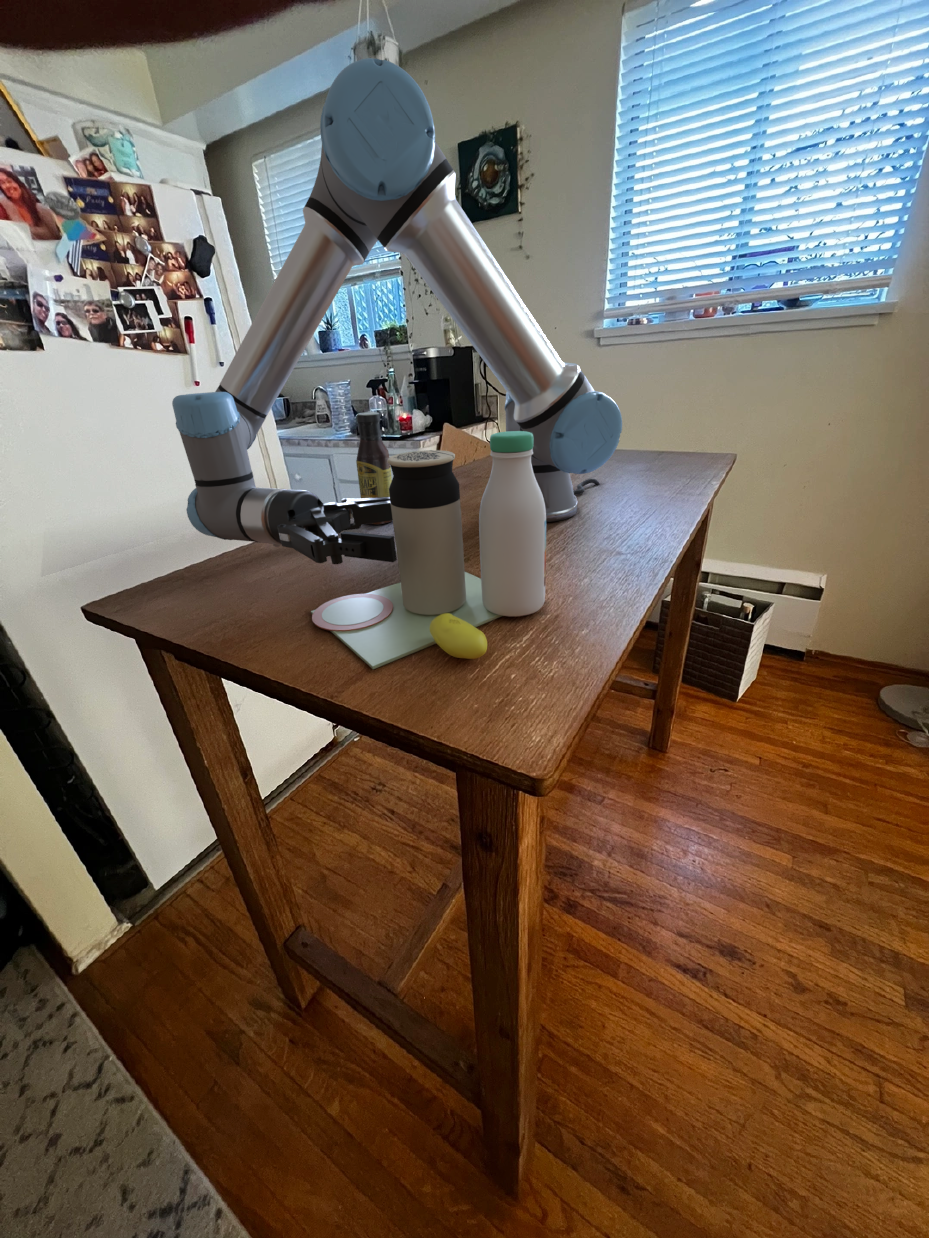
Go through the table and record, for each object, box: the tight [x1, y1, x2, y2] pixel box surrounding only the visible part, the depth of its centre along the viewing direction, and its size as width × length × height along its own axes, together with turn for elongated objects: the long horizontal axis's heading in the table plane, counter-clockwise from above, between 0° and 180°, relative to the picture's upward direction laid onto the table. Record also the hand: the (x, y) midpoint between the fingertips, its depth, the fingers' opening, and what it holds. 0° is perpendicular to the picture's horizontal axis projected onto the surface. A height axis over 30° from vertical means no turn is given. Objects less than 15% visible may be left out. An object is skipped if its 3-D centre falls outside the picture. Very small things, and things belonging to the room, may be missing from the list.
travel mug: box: [387, 449, 466, 615], centre depth 59 cm, size 8×8×18 cm
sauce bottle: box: [355, 411, 393, 526], centre depth 94 cm, size 6×6×20 cm
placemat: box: [310, 571, 504, 670], centre depth 63 cm, size 23×18×1 cm
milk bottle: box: [478, 431, 547, 617], centre depth 57 cm, size 8×8×20 cm
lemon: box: [430, 613, 488, 660], centre depth 52 cm, size 4×8×4 cm, turn 37°
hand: (424, 530), depth 59 cm, fingers open, 13 cm apart
